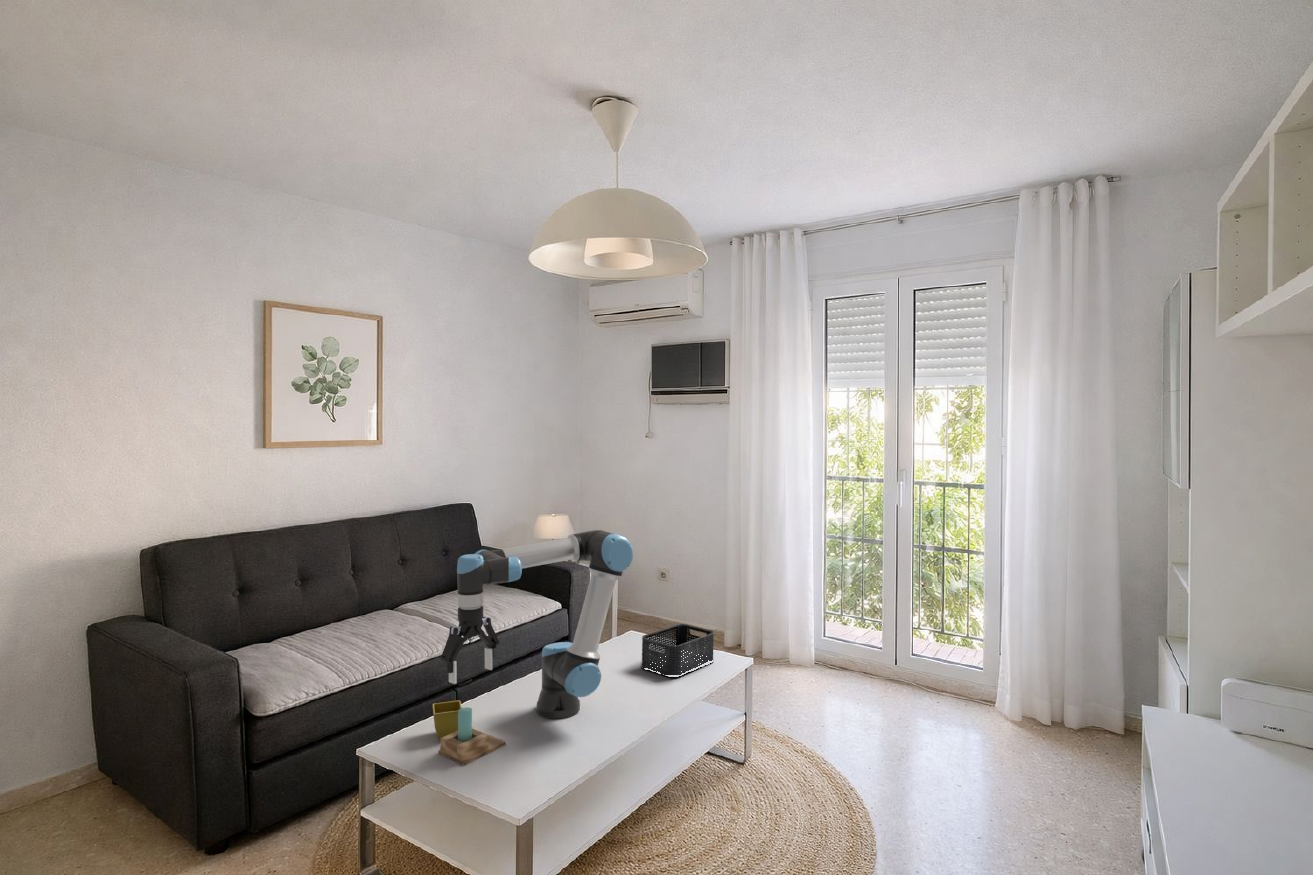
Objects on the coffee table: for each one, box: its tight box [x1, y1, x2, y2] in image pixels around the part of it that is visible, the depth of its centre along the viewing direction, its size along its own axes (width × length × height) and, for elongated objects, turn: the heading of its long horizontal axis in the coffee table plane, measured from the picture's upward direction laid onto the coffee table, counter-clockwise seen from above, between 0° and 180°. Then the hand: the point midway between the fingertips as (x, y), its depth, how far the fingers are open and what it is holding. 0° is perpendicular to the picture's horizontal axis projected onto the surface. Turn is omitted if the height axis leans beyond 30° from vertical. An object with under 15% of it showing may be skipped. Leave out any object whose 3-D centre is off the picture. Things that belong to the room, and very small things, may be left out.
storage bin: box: [641, 623, 715, 675], centre depth 286 cm, size 29×19×13 cm
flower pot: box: [432, 700, 463, 739], centre depth 220 cm, size 9×9×9 cm
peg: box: [458, 707, 473, 742], centre depth 208 cm, size 4×4×12 cm
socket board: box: [437, 728, 507, 766], centre depth 210 cm, size 16×12×5 cm
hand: (471, 675), depth 208 cm, fingers open, 13 cm apart
